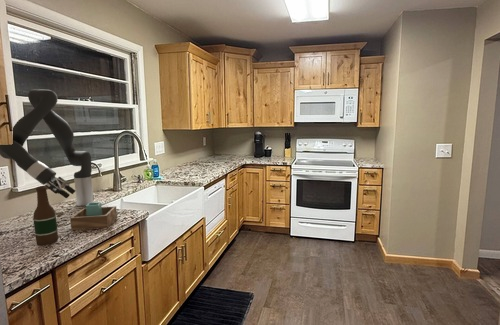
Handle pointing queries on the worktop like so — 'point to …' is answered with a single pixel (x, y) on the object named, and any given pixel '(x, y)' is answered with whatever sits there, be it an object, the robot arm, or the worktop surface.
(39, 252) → the worktop surface
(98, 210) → the teal rectangular block
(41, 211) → the beer bottle
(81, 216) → the walnut crate
